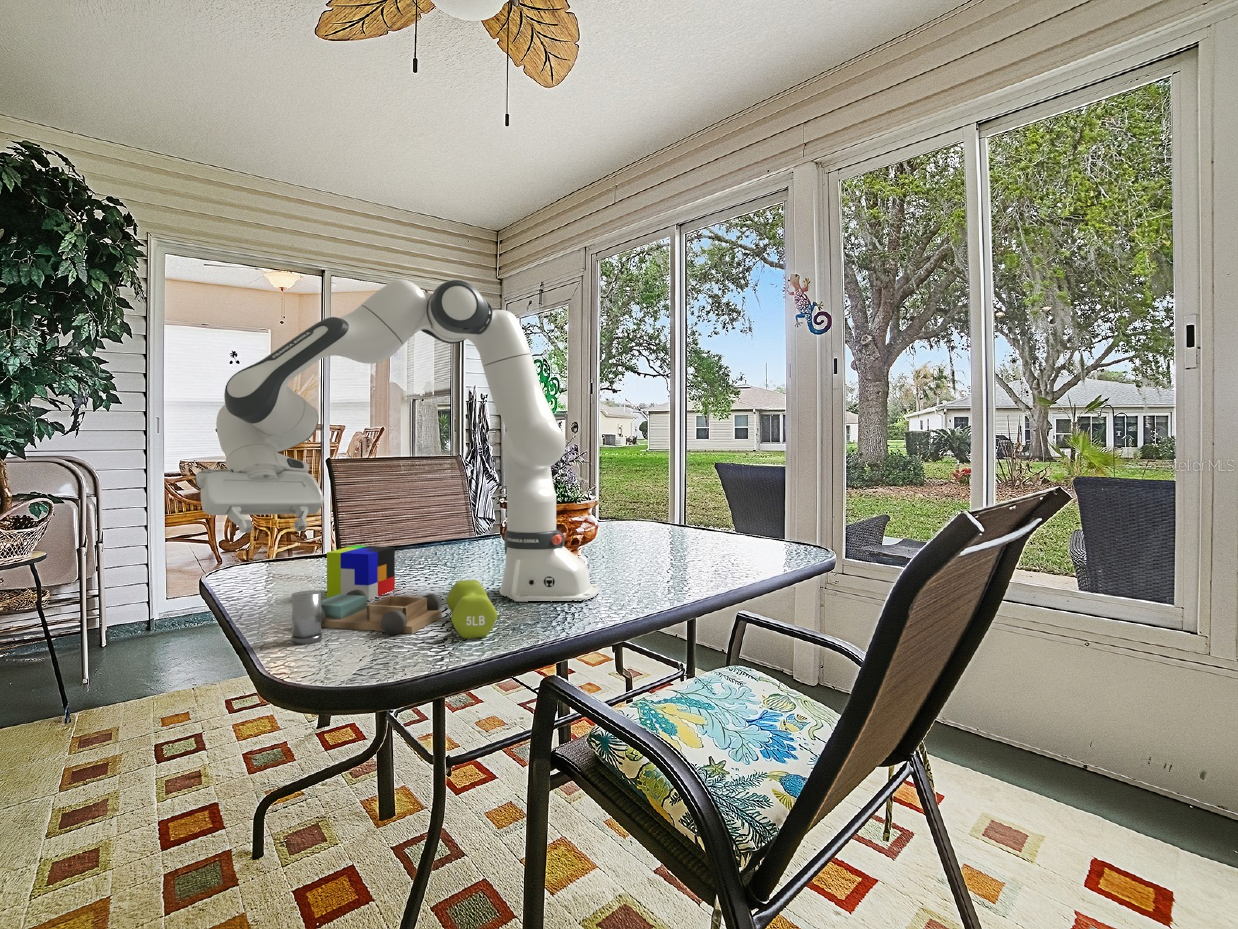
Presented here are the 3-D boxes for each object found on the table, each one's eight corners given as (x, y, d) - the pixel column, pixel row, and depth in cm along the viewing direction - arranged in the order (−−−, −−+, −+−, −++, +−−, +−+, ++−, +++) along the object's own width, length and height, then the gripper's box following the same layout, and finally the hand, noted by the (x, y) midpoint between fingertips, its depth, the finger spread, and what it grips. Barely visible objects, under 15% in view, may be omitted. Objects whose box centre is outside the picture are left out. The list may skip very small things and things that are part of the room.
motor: (328, 637, 106) (327, 591, 106) (309, 646, 101) (309, 597, 101) (304, 635, 107) (303, 589, 106) (284, 644, 102) (284, 595, 102)
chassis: (445, 614, 121) (445, 594, 121) (407, 636, 107) (407, 613, 107) (344, 608, 125) (344, 588, 125) (294, 628, 111) (294, 606, 111)
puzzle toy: (368, 601, 132) (368, 554, 131) (326, 598, 134) (326, 552, 133) (394, 590, 141) (394, 547, 141) (355, 588, 143) (355, 545, 143)
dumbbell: (498, 638, 107) (498, 596, 107) (450, 642, 104) (450, 600, 104) (487, 614, 122) (487, 577, 122) (445, 617, 120) (445, 580, 120)
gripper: (199, 457, 108) (216, 520, 102) (316, 463, 124) (336, 518, 118) (187, 480, 111) (203, 543, 105) (303, 483, 127) (323, 537, 121)
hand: (275, 529), depth 112 cm, fingers open, 8 cm apart
